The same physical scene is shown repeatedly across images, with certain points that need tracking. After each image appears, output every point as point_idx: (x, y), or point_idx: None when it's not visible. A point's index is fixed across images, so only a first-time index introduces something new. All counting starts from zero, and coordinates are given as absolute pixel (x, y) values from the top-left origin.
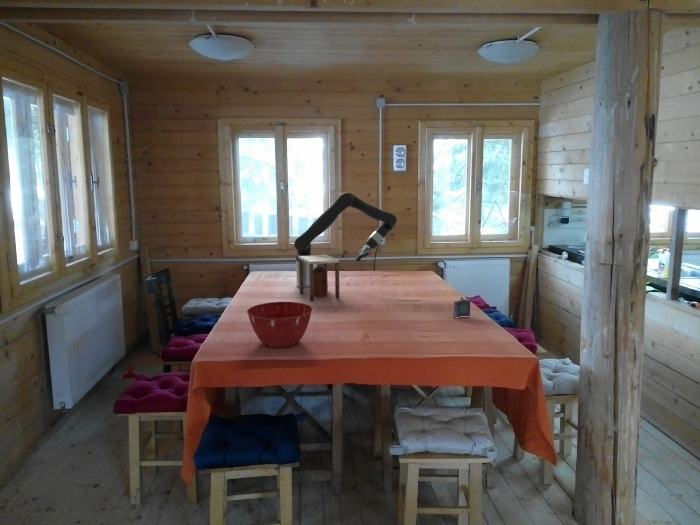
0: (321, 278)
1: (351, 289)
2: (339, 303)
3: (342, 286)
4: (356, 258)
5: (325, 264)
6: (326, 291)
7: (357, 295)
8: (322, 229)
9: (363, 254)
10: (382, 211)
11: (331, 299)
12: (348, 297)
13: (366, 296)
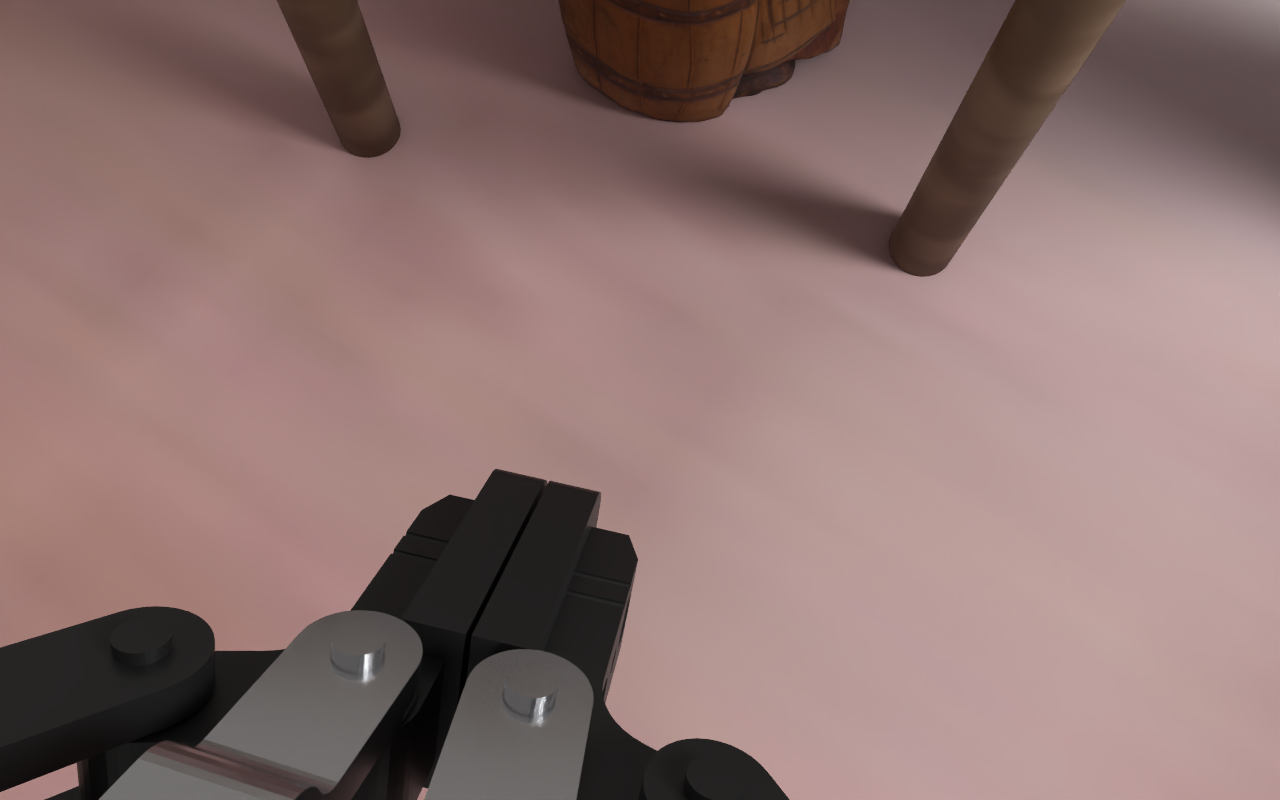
0: None
1: (827, 700)
2: (100, 2)
3: (1183, 721)
4: (543, 509)
5: None
6: (566, 18)
7: (323, 485)
8: None
9: (8, 675)
10: None
11: (375, 41)
12: (308, 287)
13: (147, 565)
